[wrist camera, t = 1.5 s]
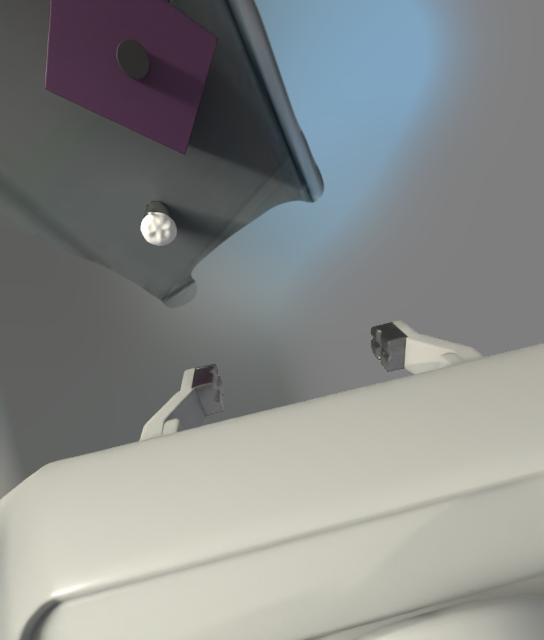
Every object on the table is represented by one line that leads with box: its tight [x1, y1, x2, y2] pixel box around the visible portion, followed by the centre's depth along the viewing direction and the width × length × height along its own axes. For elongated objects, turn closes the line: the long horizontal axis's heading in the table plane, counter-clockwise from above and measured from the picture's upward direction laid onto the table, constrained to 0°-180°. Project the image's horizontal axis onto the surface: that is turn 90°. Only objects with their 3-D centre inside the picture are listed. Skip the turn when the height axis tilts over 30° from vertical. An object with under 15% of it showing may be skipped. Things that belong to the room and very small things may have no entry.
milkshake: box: [141, 201, 177, 246], centre depth 41 cm, size 4×5×10 cm
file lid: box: [45, 0, 218, 155], centre depth 26 cm, size 13×11×5 cm
